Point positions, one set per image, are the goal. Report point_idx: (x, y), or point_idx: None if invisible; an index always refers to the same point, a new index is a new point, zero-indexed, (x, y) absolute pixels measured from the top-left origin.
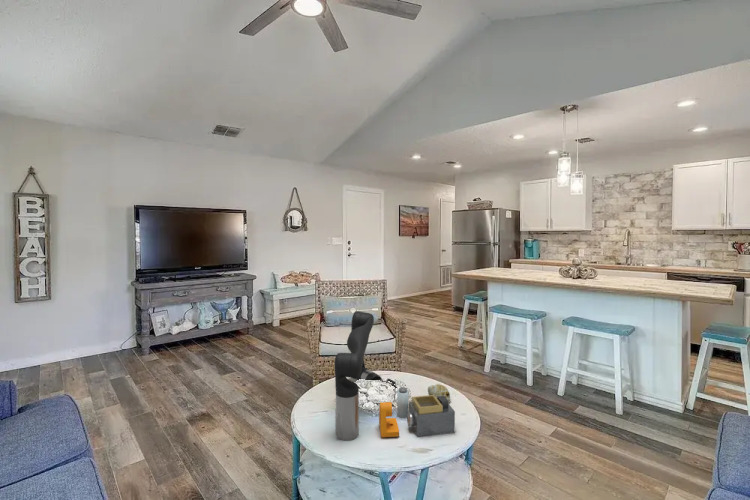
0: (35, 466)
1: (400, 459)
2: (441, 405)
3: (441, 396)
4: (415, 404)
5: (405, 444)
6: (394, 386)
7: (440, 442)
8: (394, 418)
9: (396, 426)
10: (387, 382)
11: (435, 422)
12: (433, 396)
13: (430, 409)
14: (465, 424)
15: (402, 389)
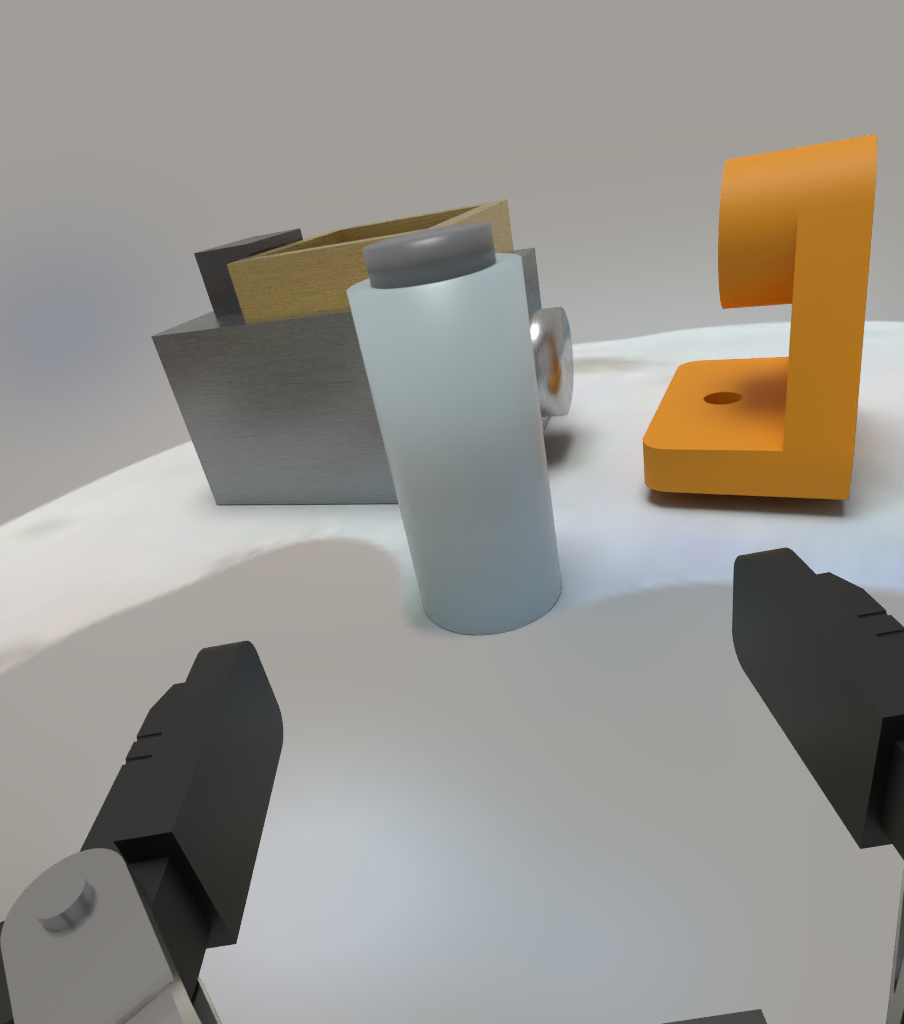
0: None
1: (733, 337)
2: (334, 230)
3: (223, 247)
4: None
5: (661, 383)
6: (224, 679)
7: None
8: (658, 442)
9: (681, 388)
10: (173, 1001)
11: None
12: (259, 256)
13: None
14: (182, 461)
15: (439, 231)
